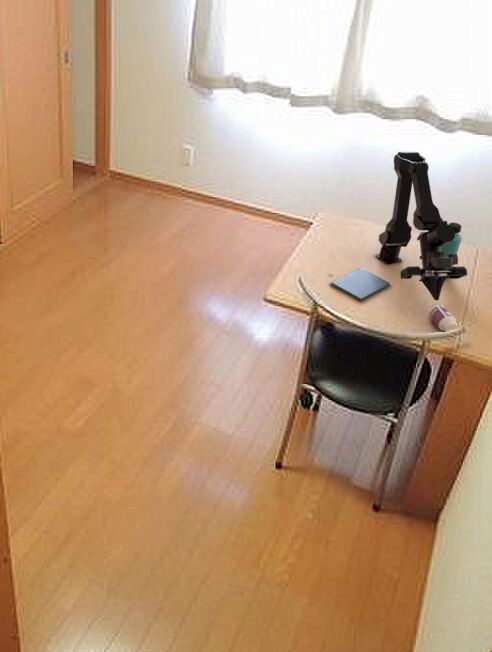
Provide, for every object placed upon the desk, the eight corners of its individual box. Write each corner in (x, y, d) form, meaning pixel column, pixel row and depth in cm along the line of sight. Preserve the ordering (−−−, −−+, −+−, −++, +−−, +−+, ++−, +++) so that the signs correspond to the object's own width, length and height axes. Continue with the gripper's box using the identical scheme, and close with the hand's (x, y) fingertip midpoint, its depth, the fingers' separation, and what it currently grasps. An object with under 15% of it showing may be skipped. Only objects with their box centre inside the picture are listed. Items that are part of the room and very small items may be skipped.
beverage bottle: (452, 275, 226) (469, 224, 215) (445, 282, 221) (461, 231, 211) (434, 268, 229) (449, 217, 219) (426, 275, 225) (441, 224, 215)
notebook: (360, 270, 227) (360, 267, 226) (389, 286, 219) (390, 283, 218) (330, 285, 218) (331, 282, 218) (360, 301, 210) (361, 298, 210)
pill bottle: (429, 320, 204) (444, 339, 196) (426, 307, 201) (441, 326, 193) (446, 313, 203) (462, 332, 195) (443, 301, 201) (459, 319, 193)
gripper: (413, 243, 195) (419, 295, 191) (473, 244, 196) (480, 295, 192) (397, 253, 206) (402, 302, 202) (454, 253, 207) (461, 301, 203)
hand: (436, 300), depth 200 cm, fingers closed
